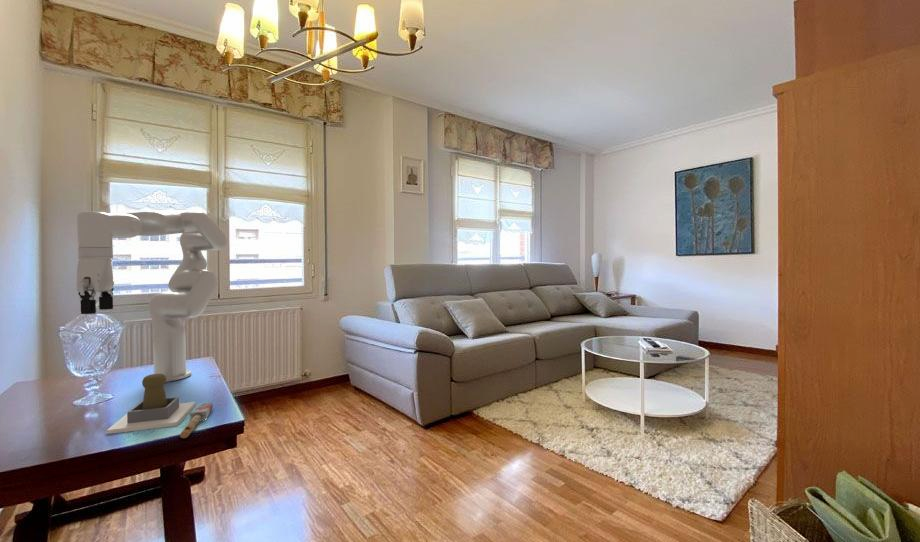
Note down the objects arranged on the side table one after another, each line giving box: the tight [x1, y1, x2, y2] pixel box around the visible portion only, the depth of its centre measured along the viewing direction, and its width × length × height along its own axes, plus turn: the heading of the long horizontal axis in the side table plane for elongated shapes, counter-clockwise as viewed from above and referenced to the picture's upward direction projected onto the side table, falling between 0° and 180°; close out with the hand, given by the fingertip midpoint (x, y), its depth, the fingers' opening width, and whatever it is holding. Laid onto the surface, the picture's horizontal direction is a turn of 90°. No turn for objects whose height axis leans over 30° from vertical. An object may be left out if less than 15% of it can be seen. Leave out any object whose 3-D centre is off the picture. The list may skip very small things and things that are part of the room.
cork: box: [141, 373, 168, 410], centre depth 107 cm, size 6×6×11 cm
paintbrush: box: [179, 402, 215, 439], centre depth 105 cm, size 4×3×20 cm
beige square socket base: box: [105, 396, 196, 435], centre depth 107 cm, size 15×15×4 cm
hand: (97, 311), depth 115 cm, fingers open, 9 cm apart
